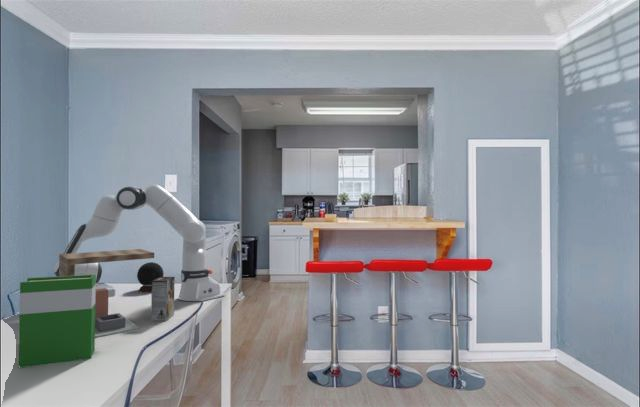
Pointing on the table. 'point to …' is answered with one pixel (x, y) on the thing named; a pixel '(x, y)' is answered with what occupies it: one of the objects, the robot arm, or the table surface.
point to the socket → (112, 325)
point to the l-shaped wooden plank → (98, 258)
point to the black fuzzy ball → (149, 275)
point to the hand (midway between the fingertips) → (93, 297)
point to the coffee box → (162, 299)
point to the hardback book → (56, 319)
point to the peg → (101, 302)
